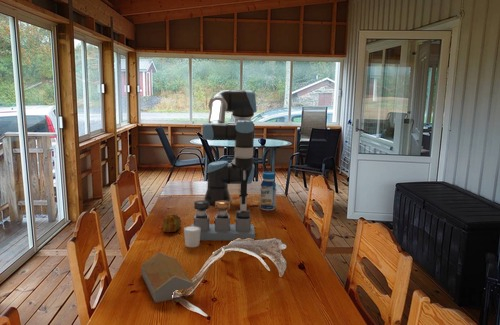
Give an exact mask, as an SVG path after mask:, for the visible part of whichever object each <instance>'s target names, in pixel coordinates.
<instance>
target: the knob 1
mask: <svg viewBox="0 0 500 325" xmlns="http://www.w3.org/2000/svg"><path fill="white" fill-rule="evenodd" d="M193 204H194V206H193V207H194V210H196V214H197V218H206V214H207V210H208V209H210V204H209V201H205V200H201V199H200V200H196V201H193Z"/></svg>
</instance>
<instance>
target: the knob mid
mask: <svg viewBox="0 0 500 325" xmlns="http://www.w3.org/2000/svg"><path fill="white" fill-rule="evenodd" d="M214 207H215V209H216V210H217V214H218V218H227V215H228V210H230V209H231V201H230V202H229V201H223V200H222V201H216V202H215V205H214Z"/></svg>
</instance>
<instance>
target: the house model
mask: <svg viewBox="0 0 500 325" xmlns="http://www.w3.org/2000/svg"><path fill="white" fill-rule="evenodd" d="M140 266H141V276H142V278H143V280H144V282H145V284H146V287H147V289H148V291H149V292H150V296H151V297H152V299H153V301H154V303H160V302H166V301H171V300H173V299H172V295H173V292H174V291H175V290H182V289H186V288H190V287H191V286H193V285H194V284H196V283H195V282H194V281H193V279H191V277H190V275H189V274H188V272H186V270H185V269H184V267H183V265H182V264H181V263H180V262H179V260H178V258H176V257H173V256H170V255H167V254H164V253H162V252H160V251H158V252H157V253H156V254H154V255H152V256H150V258H149V259H147V260H146V261H145V262H142V264H140ZM194 286H195V285H194ZM194 295H195V290H194V291H193V293H192V294H191V295H190V296H194Z"/></svg>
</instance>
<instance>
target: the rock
mask: <svg viewBox="0 0 500 325" xmlns="http://www.w3.org/2000/svg"><path fill="white" fill-rule="evenodd" d="M181 225H182V220H181V217H180V216H179V215H178V214H176V213H169V214H167V215H166V216H165V218H164V219H163V222H162V230H163V232H164V233H170V232H171V233H174V232H176V231H177V230H179V229H180V228H181Z"/></svg>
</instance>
